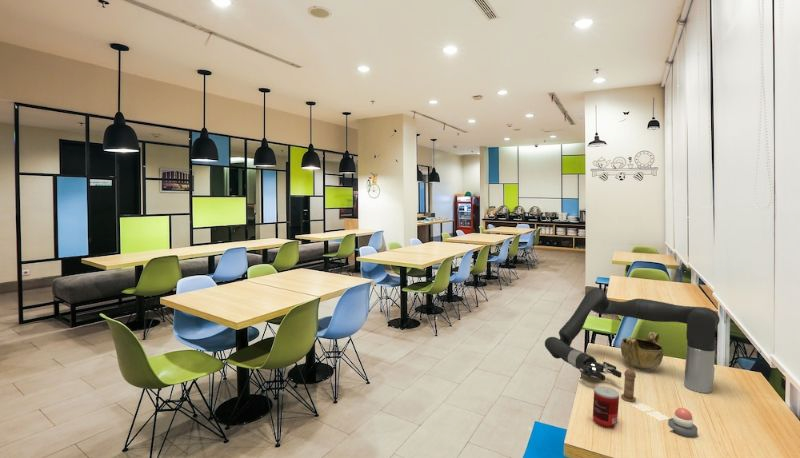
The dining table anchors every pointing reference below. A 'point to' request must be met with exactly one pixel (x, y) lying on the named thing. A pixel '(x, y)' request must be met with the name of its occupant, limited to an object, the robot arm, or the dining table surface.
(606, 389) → the canned food
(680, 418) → the dome plunger
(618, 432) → the dining table surface
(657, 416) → the track
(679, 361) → the dining table surface
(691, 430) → the dome housing
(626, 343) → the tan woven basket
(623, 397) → the pawn
